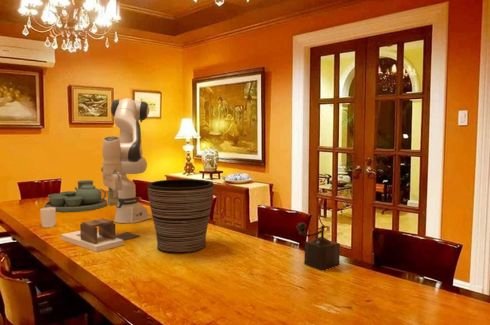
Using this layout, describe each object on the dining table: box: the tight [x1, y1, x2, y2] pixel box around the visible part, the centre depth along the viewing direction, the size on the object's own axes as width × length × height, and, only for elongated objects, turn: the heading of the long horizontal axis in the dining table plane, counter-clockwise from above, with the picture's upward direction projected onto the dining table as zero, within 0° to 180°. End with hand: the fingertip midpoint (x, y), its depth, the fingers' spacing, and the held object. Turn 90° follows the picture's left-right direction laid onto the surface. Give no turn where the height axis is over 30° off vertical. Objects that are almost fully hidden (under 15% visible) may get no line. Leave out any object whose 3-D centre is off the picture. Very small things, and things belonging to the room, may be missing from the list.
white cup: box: [39, 207, 57, 228], centre depth 229 cm, size 8×8×10 cm
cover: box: [79, 218, 117, 244], centre depth 194 cm, size 11×12×8 cm
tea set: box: [44, 179, 108, 213], centre depth 285 cm, size 40×40×16 cm
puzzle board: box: [60, 230, 124, 253], centre depth 198 cm, size 14×32×2 cm, turn 51°
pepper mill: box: [296, 222, 341, 271], centre depth 165 cm, size 16×11×18 cm
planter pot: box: [147, 178, 215, 255], centre depth 190 cm, size 30×30×30 cm
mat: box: [116, 231, 141, 242], centre depth 208 cm, size 11×11×1 cm
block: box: [107, 190, 118, 207], centre depth 205 cm, size 4×4×7 cm
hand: (112, 196), depth 205 cm, fingers closed on block, 4 cm apart
